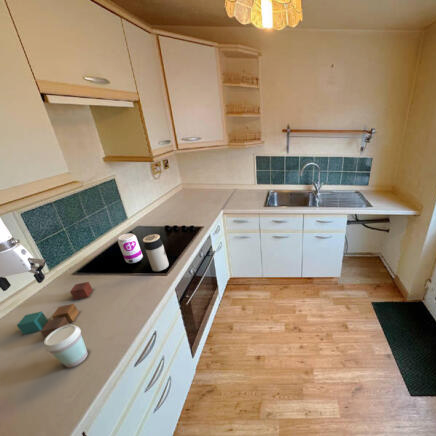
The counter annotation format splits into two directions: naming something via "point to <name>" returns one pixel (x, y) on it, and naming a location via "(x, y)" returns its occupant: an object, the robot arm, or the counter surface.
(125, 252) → the supplement can
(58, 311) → the oak block
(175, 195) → the counter surface
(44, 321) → the teal block
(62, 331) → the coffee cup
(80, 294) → the dark cherry block
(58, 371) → the counter surface
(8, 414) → the counter surface
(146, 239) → the travel mug
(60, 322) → the walnut block
